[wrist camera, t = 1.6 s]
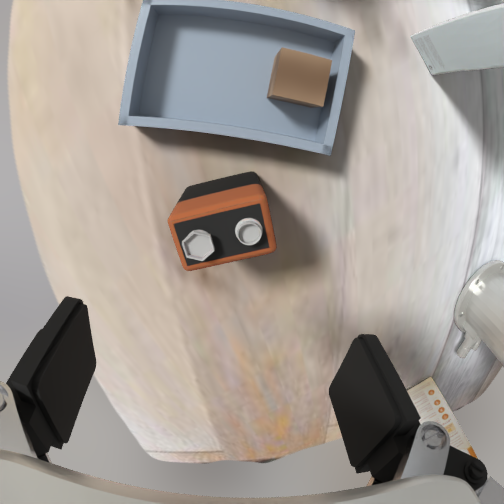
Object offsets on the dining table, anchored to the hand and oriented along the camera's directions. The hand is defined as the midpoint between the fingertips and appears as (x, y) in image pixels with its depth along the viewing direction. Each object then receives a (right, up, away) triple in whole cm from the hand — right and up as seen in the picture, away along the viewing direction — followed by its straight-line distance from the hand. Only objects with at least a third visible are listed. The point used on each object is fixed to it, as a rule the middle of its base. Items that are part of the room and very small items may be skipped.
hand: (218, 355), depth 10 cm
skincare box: (+27, +29, +11) cm, 41 cm away
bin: (0, +19, +14) cm, 24 cm away
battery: (-1, +8, +19) cm, 21 cm away
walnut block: (+5, +18, +14) cm, 23 cm away
